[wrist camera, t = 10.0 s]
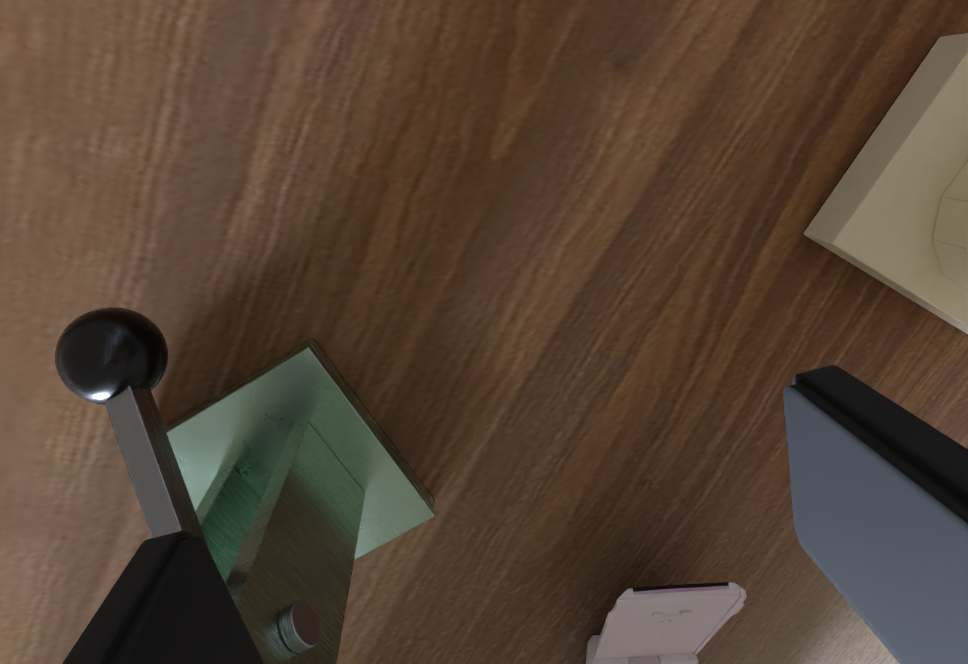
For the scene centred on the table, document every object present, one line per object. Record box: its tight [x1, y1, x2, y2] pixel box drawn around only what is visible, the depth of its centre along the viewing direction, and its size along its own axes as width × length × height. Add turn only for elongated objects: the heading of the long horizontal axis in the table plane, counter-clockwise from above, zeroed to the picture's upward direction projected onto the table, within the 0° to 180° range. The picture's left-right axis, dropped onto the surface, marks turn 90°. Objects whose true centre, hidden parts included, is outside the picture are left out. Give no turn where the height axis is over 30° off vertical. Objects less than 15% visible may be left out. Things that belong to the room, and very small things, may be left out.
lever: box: [55, 307, 212, 556], centre depth 21 cm, size 14×3×3 cm
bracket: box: [164, 339, 435, 664], centre depth 23 cm, size 10×9×13 cm
